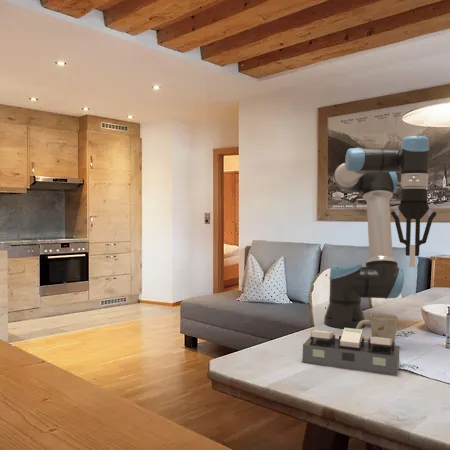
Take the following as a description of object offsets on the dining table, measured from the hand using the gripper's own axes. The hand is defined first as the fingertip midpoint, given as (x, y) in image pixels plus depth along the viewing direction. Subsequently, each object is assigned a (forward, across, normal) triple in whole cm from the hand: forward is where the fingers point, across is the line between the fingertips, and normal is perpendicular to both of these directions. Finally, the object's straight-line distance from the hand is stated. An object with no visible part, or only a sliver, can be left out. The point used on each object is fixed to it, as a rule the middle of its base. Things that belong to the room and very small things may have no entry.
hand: (412, 266), depth 139 cm
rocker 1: (+19, -23, -17) cm, 34 cm away
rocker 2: (+19, -15, -17) cm, 30 cm away
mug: (+27, -10, +3) cm, 29 cm away
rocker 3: (+19, -7, -17) cm, 27 cm away
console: (+26, -15, -17) cm, 35 cm away
